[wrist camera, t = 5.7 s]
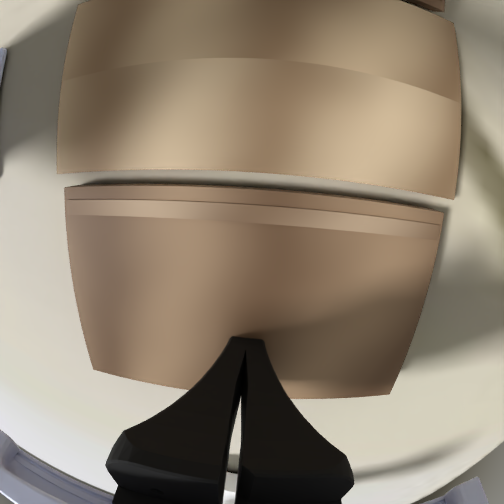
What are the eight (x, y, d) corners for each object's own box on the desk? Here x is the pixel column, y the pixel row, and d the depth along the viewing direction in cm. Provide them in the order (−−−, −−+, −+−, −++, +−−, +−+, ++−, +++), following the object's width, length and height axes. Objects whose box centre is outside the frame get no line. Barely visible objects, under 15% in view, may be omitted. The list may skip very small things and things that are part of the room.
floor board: (70, 171, 10) (56, 174, 9) (89, 11, 8) (78, 4, 7) (441, 195, 10) (454, 200, 9) (442, 29, 7) (453, 23, 6)
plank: (101, 358, 13) (92, 370, 12) (77, 185, 10) (63, 187, 9) (383, 382, 13) (390, 395, 12) (431, 208, 10) (445, 213, 9)
